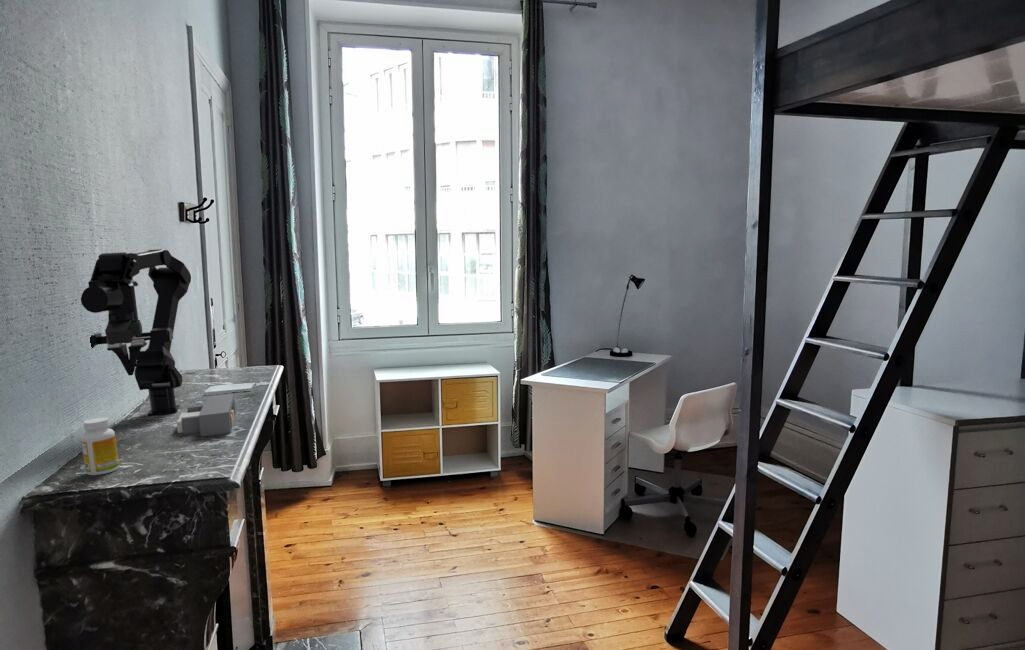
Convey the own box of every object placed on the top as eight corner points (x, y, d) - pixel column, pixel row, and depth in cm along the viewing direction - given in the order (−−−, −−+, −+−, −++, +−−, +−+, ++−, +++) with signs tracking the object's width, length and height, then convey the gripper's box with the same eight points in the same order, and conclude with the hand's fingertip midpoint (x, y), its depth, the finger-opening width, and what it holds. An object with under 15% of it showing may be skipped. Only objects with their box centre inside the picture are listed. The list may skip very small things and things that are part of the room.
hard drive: (256, 381, 199) (210, 385, 196) (251, 387, 191) (203, 391, 188) (256, 387, 199) (211, 391, 197) (251, 393, 191) (204, 397, 189)
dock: (191, 417, 165) (189, 398, 164) (235, 411, 168) (233, 393, 168) (180, 439, 146) (178, 418, 146) (230, 432, 149) (228, 412, 149)
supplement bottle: (125, 465, 130) (119, 415, 129) (108, 475, 125) (101, 423, 124) (98, 466, 130) (91, 416, 129) (79, 476, 125) (72, 424, 124)
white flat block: (182, 424, 159) (181, 413, 158) (228, 418, 162) (227, 408, 162) (177, 432, 151) (176, 421, 151) (226, 426, 154) (225, 416, 154)
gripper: (65, 314, 145) (74, 386, 147) (162, 307, 151) (170, 376, 153) (79, 310, 156) (88, 377, 158) (169, 303, 162) (177, 368, 164)
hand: (130, 375), depth 158 cm, fingers closed
